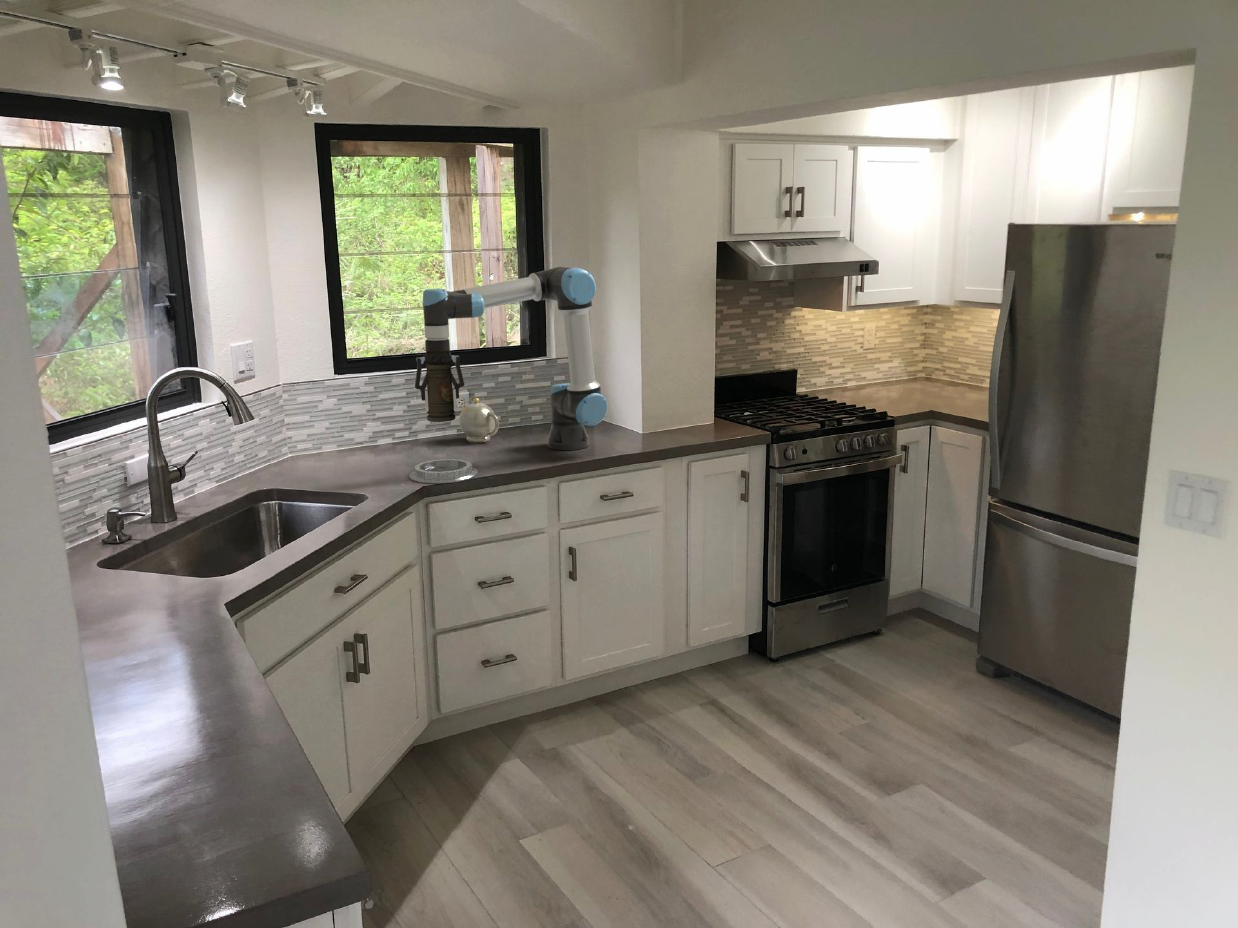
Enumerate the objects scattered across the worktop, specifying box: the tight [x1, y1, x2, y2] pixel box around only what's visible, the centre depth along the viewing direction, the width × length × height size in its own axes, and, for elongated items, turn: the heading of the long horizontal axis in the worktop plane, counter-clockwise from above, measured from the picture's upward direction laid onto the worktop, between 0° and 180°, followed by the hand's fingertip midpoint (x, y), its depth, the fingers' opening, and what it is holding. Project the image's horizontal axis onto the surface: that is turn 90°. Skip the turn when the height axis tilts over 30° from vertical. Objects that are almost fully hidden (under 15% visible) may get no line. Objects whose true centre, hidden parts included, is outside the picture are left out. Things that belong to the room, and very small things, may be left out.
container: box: [424, 362, 456, 423], centre depth 310 cm, size 9×9×18 cm
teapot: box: [458, 397, 500, 444], centre depth 362 cm, size 18×14×16 cm
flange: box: [409, 458, 479, 485], centre depth 316 cm, size 22×22×3 cm
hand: (440, 409), depth 311 cm, fingers closed on container, 8 cm apart
